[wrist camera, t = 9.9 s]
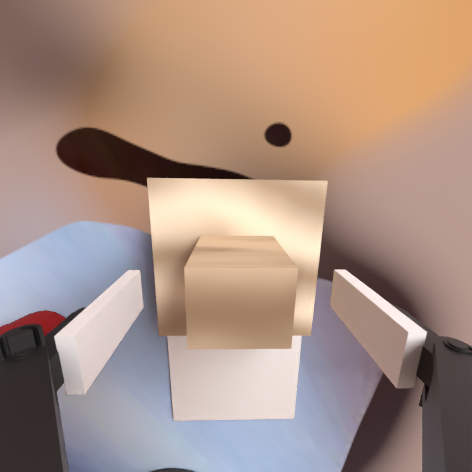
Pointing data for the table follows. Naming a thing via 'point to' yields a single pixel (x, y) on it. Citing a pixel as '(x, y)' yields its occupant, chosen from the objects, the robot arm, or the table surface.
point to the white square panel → (232, 382)
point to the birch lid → (236, 259)
